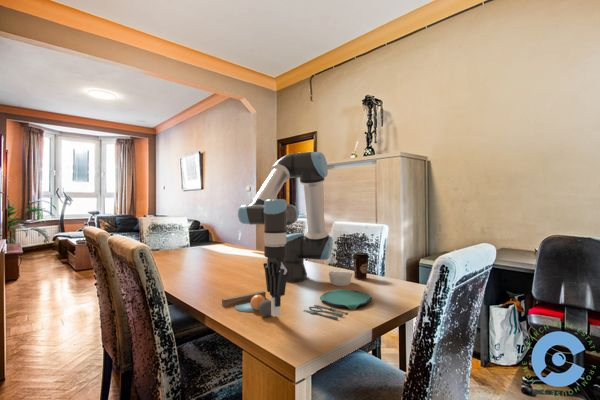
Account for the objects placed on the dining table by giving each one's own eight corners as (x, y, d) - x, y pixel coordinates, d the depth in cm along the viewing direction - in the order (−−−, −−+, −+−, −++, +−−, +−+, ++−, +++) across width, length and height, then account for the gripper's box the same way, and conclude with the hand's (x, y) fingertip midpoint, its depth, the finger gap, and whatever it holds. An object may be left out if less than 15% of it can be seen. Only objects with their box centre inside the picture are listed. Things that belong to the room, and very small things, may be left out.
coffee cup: (371, 277, 160) (371, 252, 160) (366, 281, 153) (366, 255, 153) (356, 275, 165) (355, 251, 165) (349, 279, 158) (349, 253, 158)
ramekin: (324, 282, 152) (324, 271, 152) (344, 279, 157) (344, 269, 157) (336, 288, 142) (336, 276, 142) (356, 285, 147) (356, 274, 147)
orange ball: (266, 309, 116) (262, 295, 118) (267, 305, 111) (263, 290, 114) (252, 314, 114) (248, 299, 116) (252, 310, 109) (248, 295, 112)
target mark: (266, 299, 126) (266, 298, 126) (271, 310, 113) (271, 309, 113) (233, 302, 122) (233, 301, 122) (235, 313, 110) (235, 313, 110)
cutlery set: (379, 299, 125) (379, 294, 125) (340, 324, 102) (340, 317, 102) (337, 291, 138) (337, 286, 138) (294, 311, 114) (294, 305, 114)
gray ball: (279, 304, 108) (275, 314, 110) (268, 294, 110) (264, 304, 112) (269, 312, 103) (265, 322, 106) (258, 301, 105) (253, 312, 108)
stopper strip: (265, 297, 128) (265, 291, 128) (224, 306, 117) (224, 300, 117) (263, 296, 129) (263, 290, 129) (222, 305, 119) (222, 298, 119)
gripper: (295, 246, 100) (295, 318, 100) (275, 242, 111) (275, 307, 111) (275, 248, 96) (276, 324, 96) (256, 243, 106) (256, 311, 106)
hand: (275, 315), depth 103 cm, fingers closed
